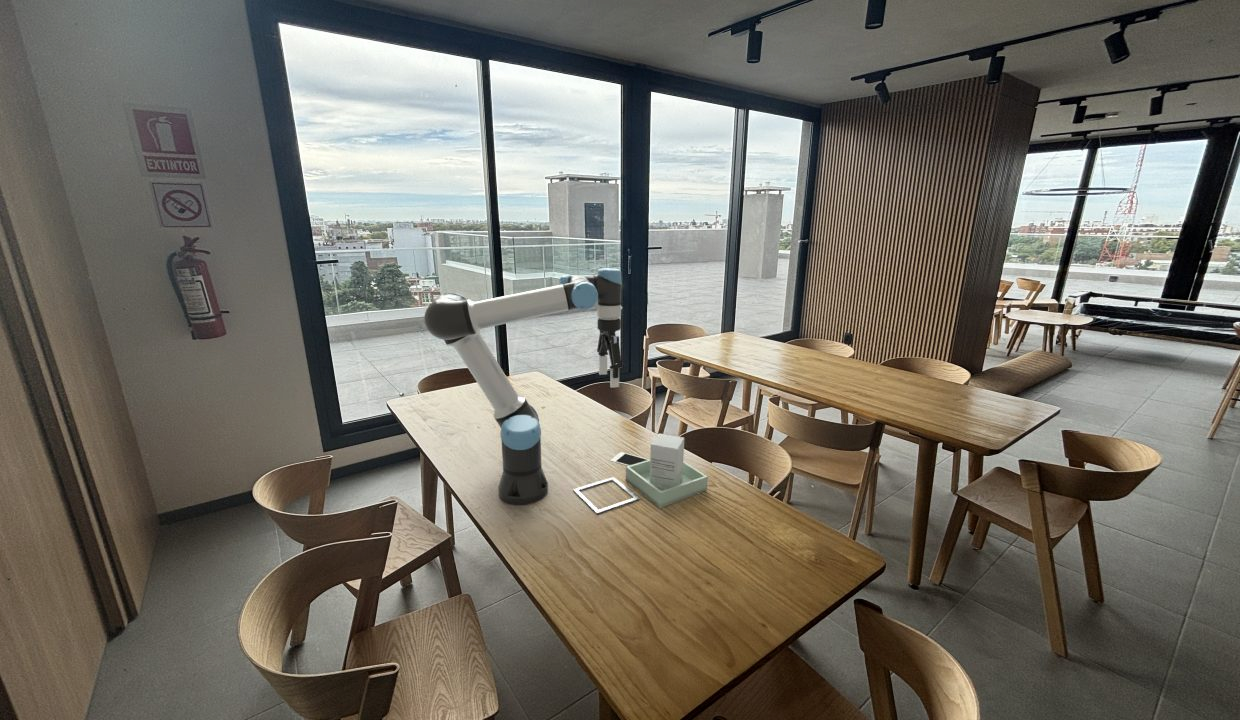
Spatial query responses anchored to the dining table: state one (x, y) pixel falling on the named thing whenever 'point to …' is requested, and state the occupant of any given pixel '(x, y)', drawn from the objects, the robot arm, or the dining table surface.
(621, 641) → the dining table surface
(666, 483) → the supplement box
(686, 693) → the dining table surface
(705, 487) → the bin
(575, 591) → the dining table surface
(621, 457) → the cell phone
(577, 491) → the white square frame
